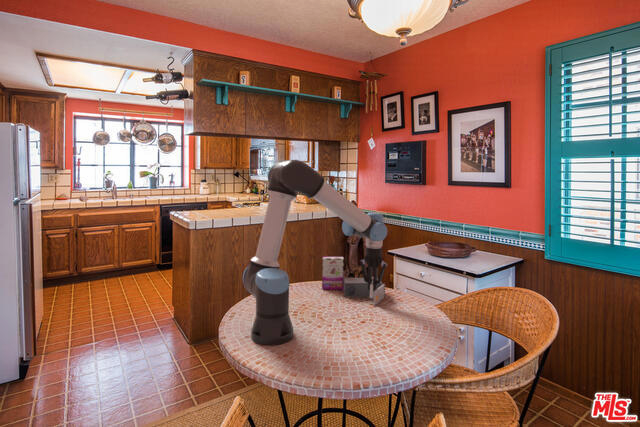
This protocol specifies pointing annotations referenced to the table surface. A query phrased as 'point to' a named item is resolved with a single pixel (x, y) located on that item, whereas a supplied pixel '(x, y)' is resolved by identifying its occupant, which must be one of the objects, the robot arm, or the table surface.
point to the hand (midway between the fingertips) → (371, 297)
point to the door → (379, 294)
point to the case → (356, 287)
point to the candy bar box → (332, 273)
